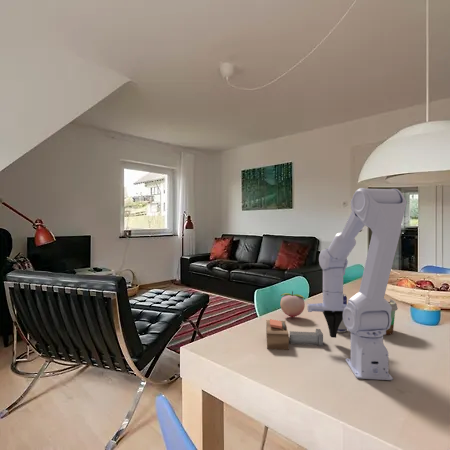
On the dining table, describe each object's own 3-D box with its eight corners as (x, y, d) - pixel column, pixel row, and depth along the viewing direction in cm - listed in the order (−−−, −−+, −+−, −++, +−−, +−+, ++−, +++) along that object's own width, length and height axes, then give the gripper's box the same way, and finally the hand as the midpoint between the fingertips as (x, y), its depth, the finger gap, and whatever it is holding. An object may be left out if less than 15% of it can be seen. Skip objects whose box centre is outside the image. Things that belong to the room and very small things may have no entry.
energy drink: (348, 333, 97) (348, 296, 97) (331, 332, 99) (331, 296, 98) (345, 328, 103) (345, 293, 103) (328, 327, 104) (328, 292, 104)
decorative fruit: (279, 320, 111) (279, 293, 111) (280, 313, 119) (280, 288, 119) (305, 322, 109) (305, 294, 109) (305, 315, 117) (305, 289, 117)
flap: (282, 326, 89) (270, 324, 89) (281, 328, 89) (270, 326, 89) (281, 321, 93) (269, 319, 94) (280, 323, 93) (269, 321, 94)
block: (288, 349, 85) (288, 331, 85) (267, 348, 86) (267, 330, 86) (285, 334, 97) (285, 318, 97) (266, 333, 97) (266, 317, 97)
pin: (323, 346, 87) (323, 334, 87) (290, 345, 88) (290, 332, 88) (320, 340, 92) (320, 328, 92) (289, 339, 93) (289, 327, 93)
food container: (374, 338, 93) (375, 306, 93) (361, 331, 99) (361, 301, 99) (406, 334, 97) (406, 303, 97) (391, 328, 103) (391, 299, 103)
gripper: (354, 288, 92) (354, 332, 92) (305, 287, 94) (305, 330, 94) (361, 293, 85) (361, 341, 85) (309, 292, 87) (309, 339, 87)
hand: (332, 336), depth 89 cm, fingers closed
